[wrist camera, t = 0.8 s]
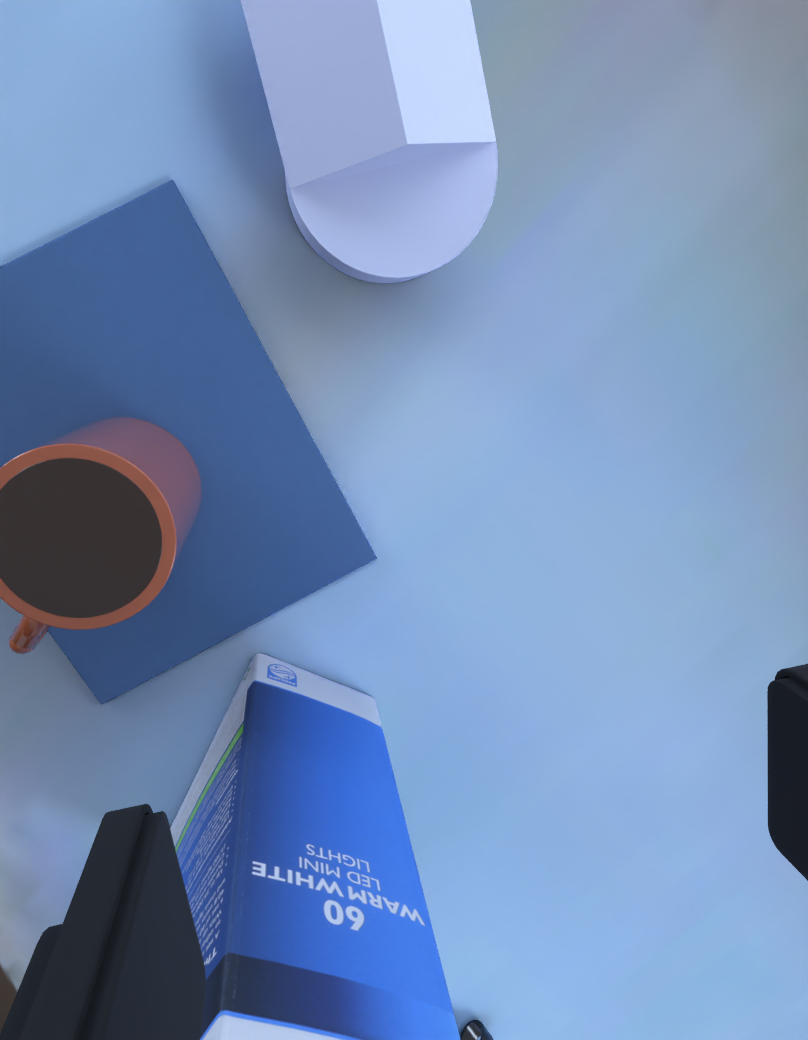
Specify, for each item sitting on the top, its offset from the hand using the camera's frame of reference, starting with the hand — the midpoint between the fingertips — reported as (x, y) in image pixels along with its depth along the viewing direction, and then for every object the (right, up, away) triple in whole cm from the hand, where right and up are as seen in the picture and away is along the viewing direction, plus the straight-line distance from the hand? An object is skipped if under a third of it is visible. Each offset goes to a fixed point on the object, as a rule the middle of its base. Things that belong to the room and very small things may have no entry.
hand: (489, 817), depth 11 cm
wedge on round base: (-3, +22, +22) cm, 32 cm away
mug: (-15, +5, +24) cm, 29 cm away
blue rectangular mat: (-14, +7, +24) cm, 29 cm away
